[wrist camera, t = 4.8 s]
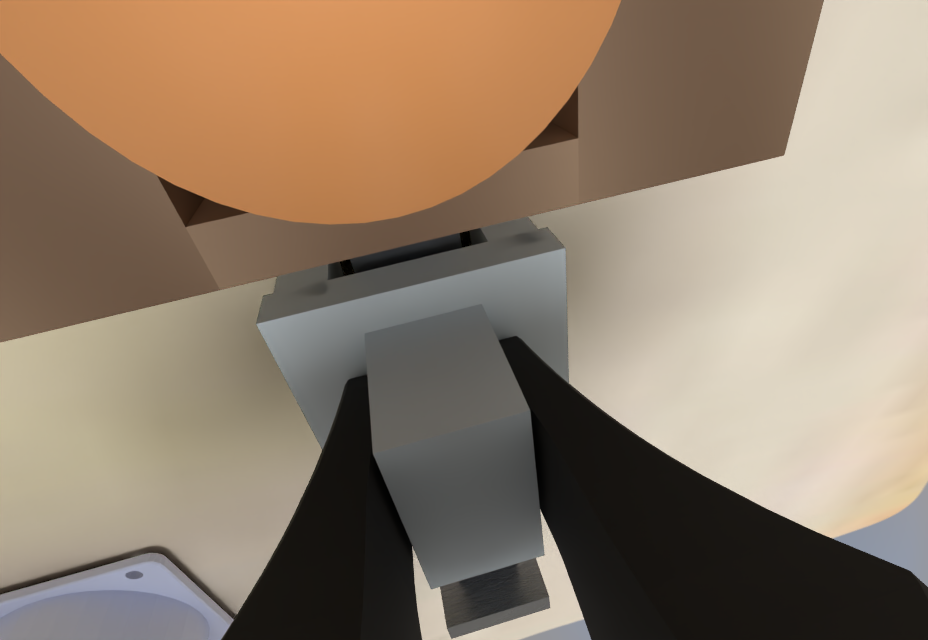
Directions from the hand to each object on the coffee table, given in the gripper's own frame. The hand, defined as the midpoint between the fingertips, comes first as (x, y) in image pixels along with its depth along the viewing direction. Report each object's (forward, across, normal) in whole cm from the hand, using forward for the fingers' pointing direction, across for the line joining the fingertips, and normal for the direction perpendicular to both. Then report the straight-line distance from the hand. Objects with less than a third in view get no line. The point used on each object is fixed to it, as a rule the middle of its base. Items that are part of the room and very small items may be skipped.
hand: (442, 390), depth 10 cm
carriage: (+4, 0, 0) cm, 4 cm away
